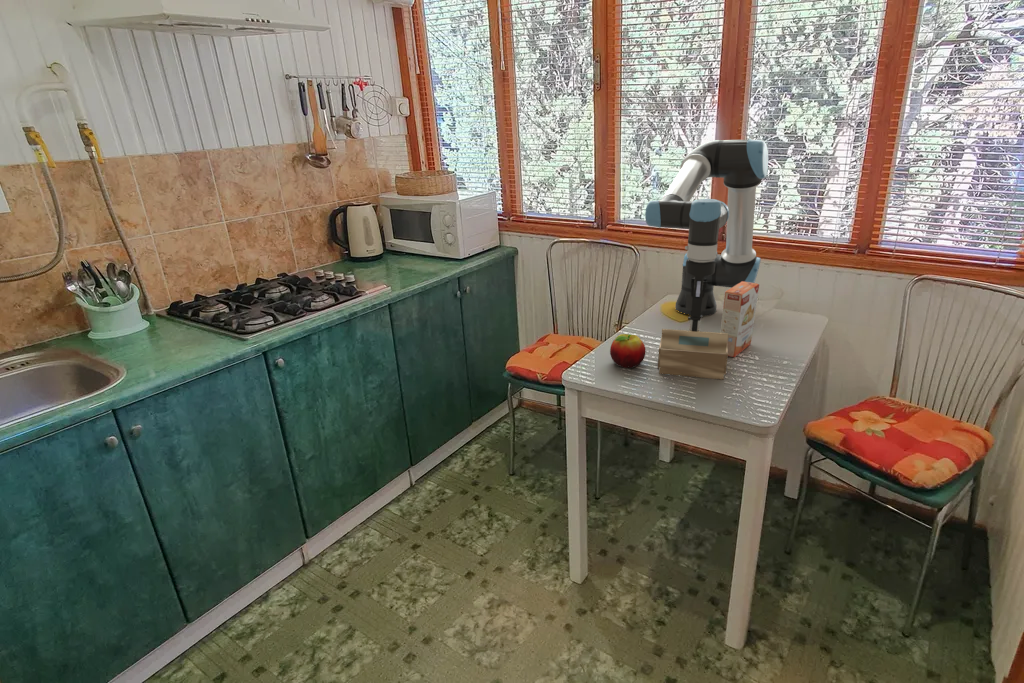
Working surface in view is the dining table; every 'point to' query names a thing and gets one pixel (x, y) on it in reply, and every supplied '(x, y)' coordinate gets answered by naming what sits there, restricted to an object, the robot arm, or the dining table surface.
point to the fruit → (627, 350)
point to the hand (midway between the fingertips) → (693, 340)
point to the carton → (692, 363)
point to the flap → (694, 341)
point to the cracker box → (739, 316)
